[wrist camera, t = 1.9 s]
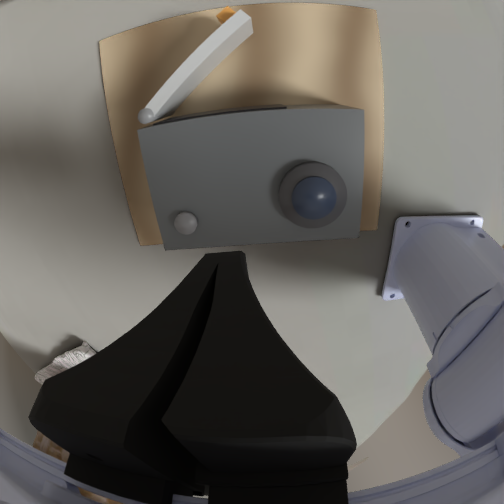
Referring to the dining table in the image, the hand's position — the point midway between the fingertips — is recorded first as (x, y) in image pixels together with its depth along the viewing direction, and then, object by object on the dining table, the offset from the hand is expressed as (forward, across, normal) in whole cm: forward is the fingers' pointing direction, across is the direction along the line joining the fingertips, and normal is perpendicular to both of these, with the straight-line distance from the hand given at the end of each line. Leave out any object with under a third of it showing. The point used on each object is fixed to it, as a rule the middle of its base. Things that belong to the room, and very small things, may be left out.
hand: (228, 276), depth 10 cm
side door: (+10, +2, -8) cm, 13 cm away
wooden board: (+10, -1, -4) cm, 11 cm away
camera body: (+10, -1, -2) cm, 10 cm away
